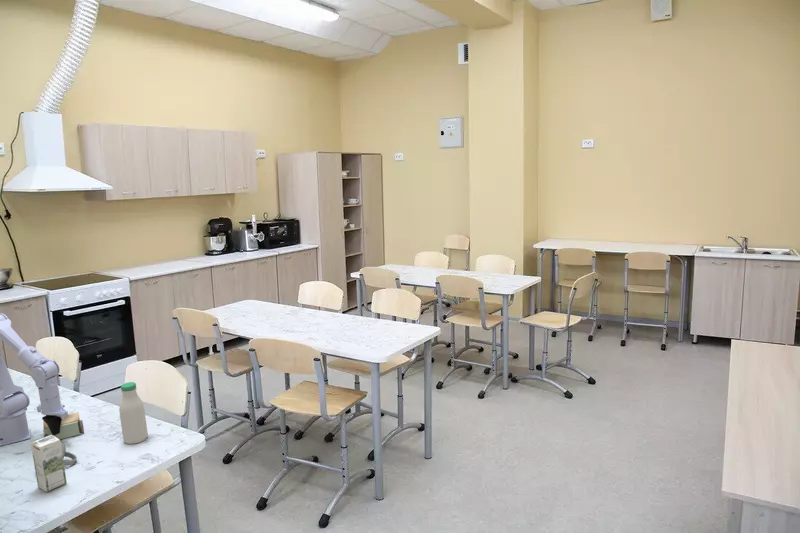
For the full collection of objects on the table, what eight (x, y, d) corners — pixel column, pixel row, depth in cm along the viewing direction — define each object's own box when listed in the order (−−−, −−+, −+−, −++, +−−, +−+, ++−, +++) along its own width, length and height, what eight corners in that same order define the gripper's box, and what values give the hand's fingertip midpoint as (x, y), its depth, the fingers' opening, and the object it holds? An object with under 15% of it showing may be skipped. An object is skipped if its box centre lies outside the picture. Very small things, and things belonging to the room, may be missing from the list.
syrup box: (57, 478, 176) (50, 433, 174) (67, 483, 173) (60, 438, 170) (37, 487, 172) (29, 441, 169) (47, 493, 168) (39, 446, 166)
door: (45, 444, 198) (43, 431, 197) (45, 441, 200) (43, 429, 199) (80, 435, 203) (78, 423, 203) (79, 433, 205) (77, 421, 204)
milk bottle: (152, 438, 199) (144, 383, 196) (129, 447, 194) (121, 390, 190) (142, 431, 205) (134, 378, 201) (119, 440, 199) (111, 385, 195)
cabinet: (45, 443, 199) (43, 429, 198) (45, 433, 207) (43, 420, 206) (84, 433, 205) (82, 420, 204) (82, 424, 213) (80, 411, 212)
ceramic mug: (36, 476, 178) (33, 453, 176) (40, 464, 185) (36, 442, 184) (76, 468, 182) (73, 445, 181) (77, 456, 190) (74, 434, 188)
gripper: (74, 395, 196) (80, 432, 199) (48, 389, 203) (55, 425, 206) (53, 403, 190) (60, 442, 193) (28, 397, 197) (34, 434, 200)
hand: (56, 434), depth 199 cm, fingers closed
